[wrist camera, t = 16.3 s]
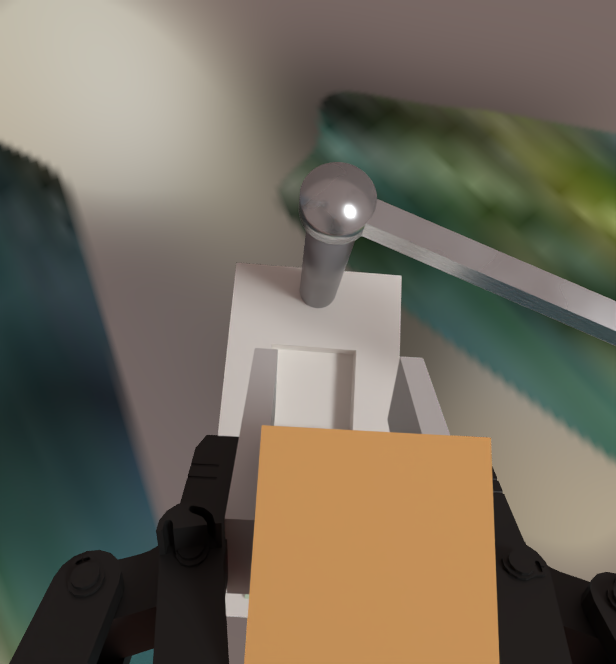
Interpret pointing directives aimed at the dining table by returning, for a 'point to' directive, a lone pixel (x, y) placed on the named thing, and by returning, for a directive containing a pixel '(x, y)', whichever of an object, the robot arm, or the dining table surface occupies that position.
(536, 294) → the bar
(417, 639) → the orange and black block
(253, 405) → the robot arm
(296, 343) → the base plate with post
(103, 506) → the dining table surface
